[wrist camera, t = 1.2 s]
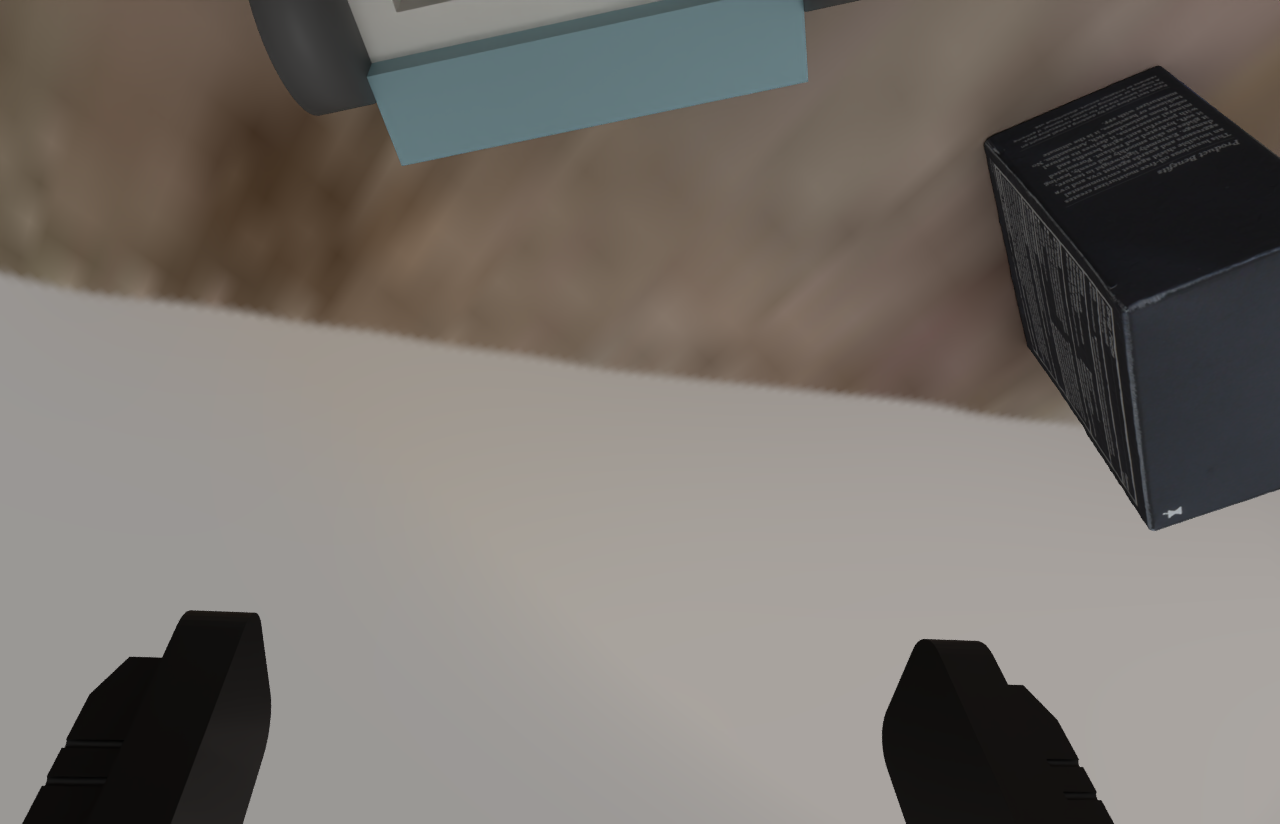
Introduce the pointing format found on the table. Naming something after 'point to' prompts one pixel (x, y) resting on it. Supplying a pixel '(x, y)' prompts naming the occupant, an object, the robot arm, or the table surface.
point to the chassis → (526, 61)
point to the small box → (1152, 287)
